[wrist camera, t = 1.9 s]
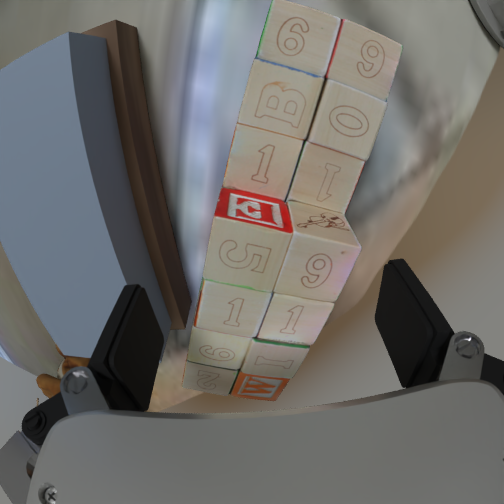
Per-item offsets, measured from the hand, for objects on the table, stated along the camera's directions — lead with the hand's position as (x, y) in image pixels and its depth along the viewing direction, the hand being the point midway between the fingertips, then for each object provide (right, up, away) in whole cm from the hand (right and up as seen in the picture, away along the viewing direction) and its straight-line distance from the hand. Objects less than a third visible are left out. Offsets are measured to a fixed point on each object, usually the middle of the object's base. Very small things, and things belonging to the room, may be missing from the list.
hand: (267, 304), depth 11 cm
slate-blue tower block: (-14, +5, +8) cm, 17 cm away
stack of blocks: (+1, +8, +11) cm, 14 cm away
